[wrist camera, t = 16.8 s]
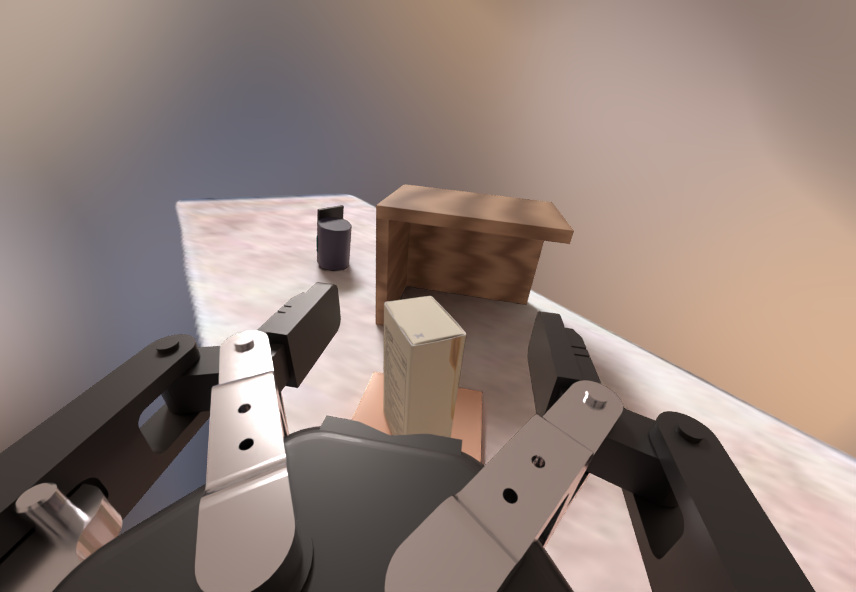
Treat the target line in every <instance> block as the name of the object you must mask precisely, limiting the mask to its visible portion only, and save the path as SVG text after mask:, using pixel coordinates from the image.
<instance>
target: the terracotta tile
mask: <svg viewBox="0 0 856 592" xmlns="http://www.w3.org/2000/svg"><path fill="white" fill-rule="evenodd" d="M383 396H384V374H383V373H378V372H374V373H373V375H372V377H371V379H370V382H369V384H368V386H367V388H366V390H365V392H364V394H363V397H362V399H361V401H360V403H359V405H358V407H357V410H356V412H355V414H354V416H353V418H352V420H354V421H359V422H361V423H364V424H366V425H368V426H370V427H372V428H375V429H377V430H379V431H381V432H384V433H386V434H388V435H392V433H391V430H390V428H389V425H388V423H387V420H386V417H385V414H384V411H383ZM481 426H482V392H480V391H474V390H469V389H464V388H458V391H457V399H456V405H455V411H454V418H453V425H452V432H451V438H455V439H461V440H462V450H461V451H462V452H464V453H466V454H468V455H470V456H472V457H474V458H475V459H477V460H478V461H479V462H481Z"/></svg>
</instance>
